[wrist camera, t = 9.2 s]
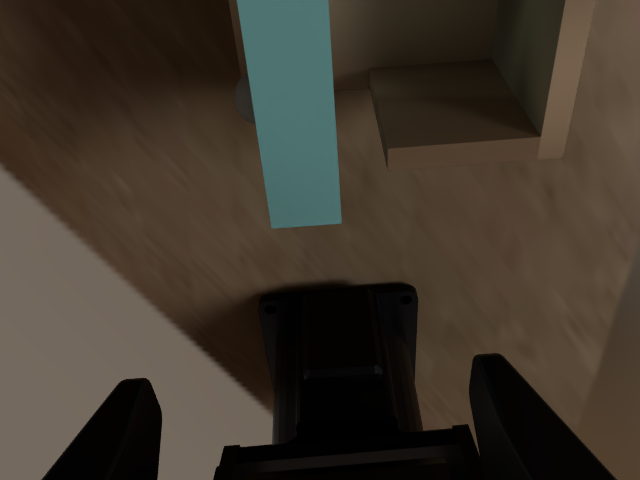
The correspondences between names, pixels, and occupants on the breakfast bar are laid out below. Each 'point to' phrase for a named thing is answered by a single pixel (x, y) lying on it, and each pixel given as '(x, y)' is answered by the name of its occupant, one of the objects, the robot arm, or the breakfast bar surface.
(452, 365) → the breakfast bar surface
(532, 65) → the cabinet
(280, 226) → the white and teal holder
